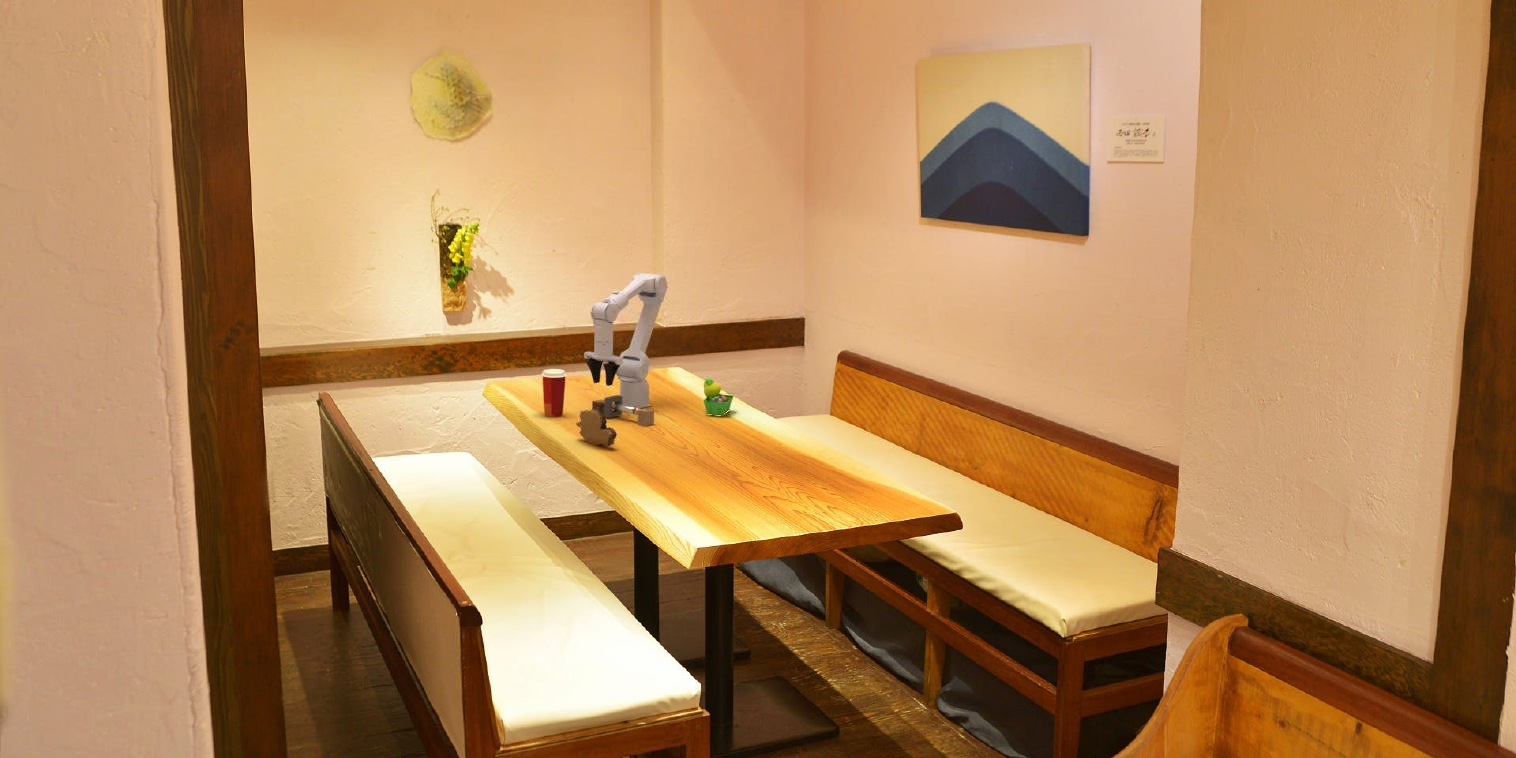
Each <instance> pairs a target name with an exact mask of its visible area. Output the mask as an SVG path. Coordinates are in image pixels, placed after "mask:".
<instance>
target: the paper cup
mask: <svg viewBox="0 0 1516 758" xmlns="http://www.w3.org/2000/svg"><path fill="white" fill-rule="evenodd" d="M540 376H541V377H542V394H543V396H542V397H543V411H544V416H545V417H547V418H548V417H550V418H559V417H562V416H563V415H564V404H565V402H564V401H565V389H566V377H567V374H566V371H565V370H563V369H560V368H549V369H548V368H547V369H544V370H543V371H542V373H541V375H540Z"/></svg>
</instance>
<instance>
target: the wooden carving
mask: <svg viewBox="0 0 1516 758" xmlns="http://www.w3.org/2000/svg"><path fill="white" fill-rule="evenodd" d="M579 418H580V421H577V422H576V423H575V424H576V426H577V427H578V428H580V431H579V434H580V436H581V437H582V438H583V439H584V440H585V441H586V442H587V443H589V444H590V443H591V444H590V445H594V446H599V445H601V444H602V446H604V447H611V446H612V445H615V439H616V438H617V435H618V434H617V432H616V430H615V429H614V428H612V427H609V426H608V427H607V421H608V420H607V417H605V415H602V414H601V413H600V412H598V411H597V410H592V409H588V410H586V409H585V410H581V411H580V413H579Z"/></svg>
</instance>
